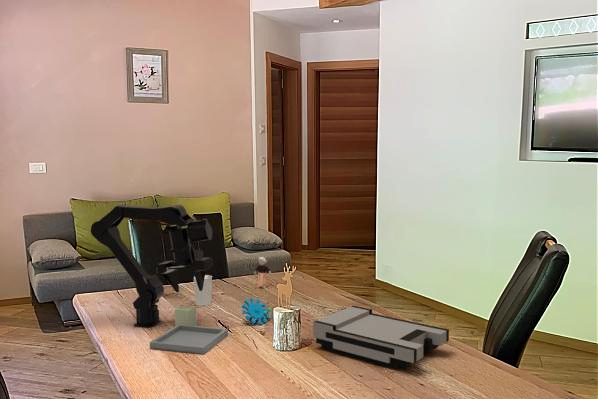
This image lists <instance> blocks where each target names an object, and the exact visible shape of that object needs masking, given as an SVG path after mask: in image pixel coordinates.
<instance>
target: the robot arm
mask: <svg viewBox="0 0 598 399" xmlns="http://www.w3.org/2000/svg"><path fill="white" fill-rule="evenodd" d="M124 219H138V220H139V219H140V220H141V219H142V220H153V221H158V222H160V223H163V224H166V225H165V227H164V229H163V230H162V233H163V234H164V233H168V234H169V238H170V243H171V249H169V253H171V254H172V253H173V254H172V255H173V260H167V261H163V262H160V263H158V264H157V265H156V268H155V269H156V273H157V274H160V276H162V277H164V279H165V280H167V282H168V283H169V284H170V286H171V287H172V289H173V290H174V291H175V292H176V293H179V292H180V286H179V281H178V272H179V269H188V268H189V269H190V268H193V269H194V271H193V275H194V277H195V279H196V282H197V285H198V288H199V290H200V291H202V290H203V284H204V278H205V275H207V272H208V270H210V269H211V267H214V265H215V264H214V260H213V259H212V258H211V257H203V256H204V254H203V253H204V251H203V250H200V249H195V248H194V245H193V244H191V243H190V241H191V242H193V243H197V242H204V241H210V240H212V239H213V229H212V228H213V227H211V223H210V222H208V220H209V219H208V218H203V219H199V220H195V219H193V218H192V217H191V215H190V214H189V213H187V209H186V208H185V207H184V205H181V204H173V205H166V206H165V205H164V206H159V207H157V206H142V205H141V206H140V205H127V204H120V205H115V206H114V207H113V208H112V209H111V210H110V211H109V212H108V213H107V214H105V215H104V216H103V217H102V218H100V219H99V220H96V221H95V222H93V223H92V225H91V227H90V234H91V236H92V237H93V238H94V239H96V241H97V242H98V243H100V244H102V245H104V246H105V247H107V248H108V249H109V251H110V252H111V253H112V255H113V256H114V257H115V258H116V260H117V261H118V262H119V264H120V265H121V266H122V268H123V269H124V270H125V272H126V273H127V274H128V275H129V278H131V279H132V281H133V282H134V285H135V291H136V293H137V295H138V297H137V298H136V299H135V300H134V301H133V302H132V305H133V308H134V310H135V313H136V314H135V315H136V316H135V318H136V323H134V324H133V326H134V327H143V328H152V327H154V326H156V325H157V324H159V323H161V322H162V321H161V319H160V310H159V306H158V305H159V304H158V303H159V302H160V299H161V298H162V297H163V295H164V294H165V287H164V286H163V285H164V283H163V282H162V281H161V280H160V279H159V277H158V275H157V274H152V275H150V274H148V273H147V272H146V270H145V269H144V268H143V266H142V265H141V263H139V261H138V260H137V258H136V257H135V256H134V255H133V253H132V252H131V251H130V249H129V248H128V246H127V245H126V244H125V243H124V241H123V240H122V237H121V233H120V230H119V228H118V226H120V224H121V223H122V221H123V220H124Z"/></svg>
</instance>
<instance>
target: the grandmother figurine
mask: <svg viewBox="0 0 598 399" xmlns="http://www.w3.org/2000/svg"><path fill="white" fill-rule="evenodd" d="M266 263H268V262H267V259H266V258H265V257H264V256H259V257H258V264H259V265H258V266H256V268H255V269H254V272H253V274H254V275H257V285H256V286H255V289H257V288H259V289H260V288H261V289H266V288H267V282H268V281H267V279H268V278H267V273H268V275H269V276H271V275H272V272H271V268H269V266H267V265H265V264H266Z"/></svg>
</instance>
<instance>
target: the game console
mask: <svg viewBox="0 0 598 399" xmlns="http://www.w3.org/2000/svg"><path fill="white" fill-rule="evenodd" d="M312 329H313V334H312V335H313V338H315V342H316V344H318V345H321V350H322V351H326V352H330V353H333V354H335V355H336V354H337V355H340V356H344V357H348V358H351V359H355V360H358V361H362V362H366V363H369V364H374V365H377V366H381V367H384V368H388V369H391V370H394V371H399V370H400V369H402V368H407V367H409V366H411V365H412V364H415V363H417V362H418V361H420V360H421V359H423V358H424V355H425V354H426V353H431V352H432V351H434V350H436V349H437V348H439V347H442V346H443V345H445V344H446V343H448V342H450V341H449V340H450V339H449V338H450V329H449V328H448V329H447V328H444V327H443V328H442V327H438V326H434V325H429V324H424V323H420V322H415V321H410V320H405V319H400V318H396V317H391V316H387V315H384V314H383V315H382V314H376V313H373V309H372V308H366V307H363V306H359V305H357V306H356V305H352V306H349V307H347V308H344V309H342V310H339V311H337V312H334V313H332V314H329V315H327V316H325V317H321V318H320V319H317V320H314V321H313V328H312ZM424 353H425V354H424Z"/></svg>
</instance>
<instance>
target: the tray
mask: <svg viewBox="0 0 598 399" xmlns="http://www.w3.org/2000/svg"><path fill="white" fill-rule="evenodd" d="M228 335H229V329H228V328H222V327H210V326H199V325H194V326H191V325H180V324H178V325H177V326H175V325H174V326H173V327H172V328H170V329H168V330H167V331H166V332H164V333H162V334H161V335H159V336H157V337H156V338H155V339H153V340H151V341H149V350H157V351H167V352H175V353H183V354H184V353H185V354H192V355H193V354H194V355H200V356H204V355H205V354H207V353H208V352H209V351H210V350H212V349H213V348H214V347H215V346H216V345H217V344H219V343H220V342H222V341H223V340H224V339H226V338H227V336H228Z"/></svg>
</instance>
